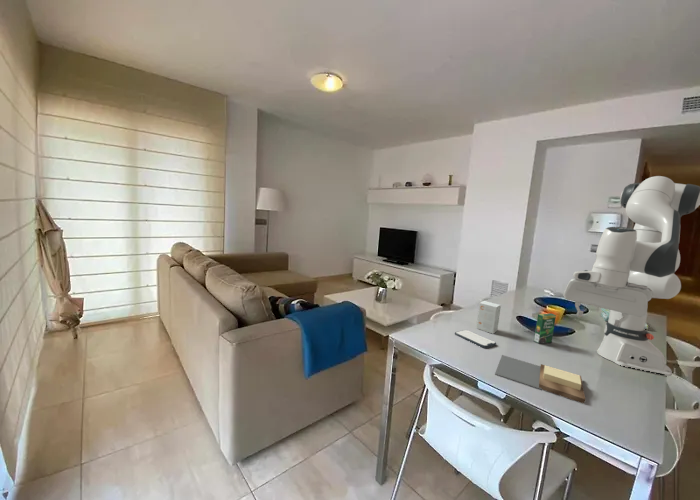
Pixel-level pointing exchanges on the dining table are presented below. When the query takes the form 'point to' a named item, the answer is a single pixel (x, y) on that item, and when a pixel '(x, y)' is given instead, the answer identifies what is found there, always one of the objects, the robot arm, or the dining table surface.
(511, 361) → the mat
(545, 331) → the coffee box
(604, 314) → the towel
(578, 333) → the dining table surface
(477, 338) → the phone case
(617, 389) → the dining table surface
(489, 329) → the small box
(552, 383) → the brown flat block
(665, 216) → the robot arm
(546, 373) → the tile
